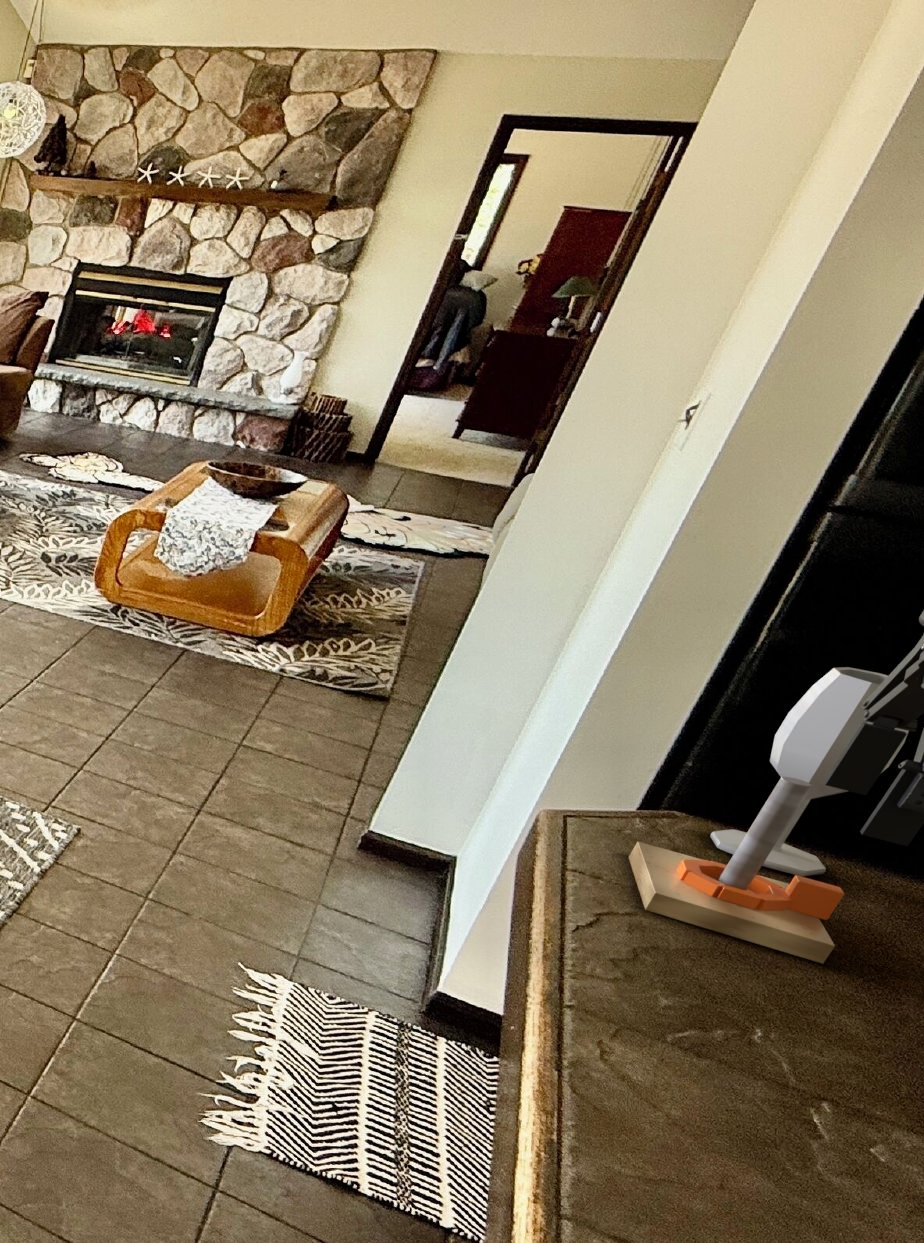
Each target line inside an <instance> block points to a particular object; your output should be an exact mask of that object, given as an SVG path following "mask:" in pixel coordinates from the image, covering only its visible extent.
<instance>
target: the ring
mask: <svg viewBox="0 0 924 1243" xmlns="http://www.w3.org/2000/svg"><path fill="white" fill-rule="evenodd" d="M726 866H727V864H725V863H721V862H717V861H714V860H708V859H702V860H692V859H684V860H682V862H681V863H680V865H679V867H678V868H677V872H678V875H679V878H680V880H683V882H684V883H686V884H688V885H690V886H692V887H694V888H696V889H698V890H700V891H702V892H704V893H706V894H708V895H710V896H712V897H717V898H718V899H720V900H724V901H727V902H731V903H734V904H737V905H741V906H744V907H748V908H751V909H758V910H760V911H783V910H785V909H789V910H793V911H796V912H800V913H803V914H807V915H810V916H814V917H817V918H819V919H820V920H824V921H828V920H829V918H830V916H831V915H832V914H833V912H834V910H835V909H836V908H837V906H838V904H839V903H840V902H841V901H842V898H843V897H844V896H845V892H844V890H843V889H842V888H841V887H840V886H837V885H833V884H830V883H826V882H823V881H819V880H815V879H812V878H808V877H806V876H798V875H795V874H794V877H793V878H792V880H791V882H790V883H788V884H789V886H788V887H787V889H783V887H781V886H779V885H777V884H775V883H773V882H771V881H769V880H767V879H765V878H763V877H764V876H763V877H760V876H761V875H759V874H756V876H755V877H754V879H753V880H752V882H751V884H750V885H749V887H748V889H750V890H752V891H754V892H756V893H758V894H755V893H752V892H748V891H745V890H741V889H738V888H734V887H731V886H727V885H725V884H723V883H721V882H719V881H717V880H715V879H713V878H711V877H709V876H712V877H716V878H719V877H720V876H721V874H722V873H723V871H724V869H725V868H726ZM758 875H759V876H758Z"/></svg>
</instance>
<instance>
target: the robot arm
mask: <svg viewBox="0 0 924 1243" xmlns="http://www.w3.org/2000/svg"><path fill="white" fill-rule="evenodd" d="M918 622H919V624H920V625H922V627H924V610H923V611H922V612H921V614H920V616H919V618H918ZM887 676H888V677H887V678H886V679H885V680H884V681H883V682H882V683H881V684H880V685H879V686H878V688H877V689H876V690H875V691H874V692H873V693H872V694H871V695H870V696H869V697H868V698H867V699H866V701H864V702H863V704H862V706H863V707H862V709H864V710H867V711H866V712H865V714H864V721H868V723H862V724H861V726H860V727H859V729H858V730H857V732H856V733H855V735H854V736H853V738H852V740H851V741H850V743H849V744H848V746H847V747H846V749H845V750H844V752H843V753H842V755H841V756H840V758H839V760H838V761H837V763H836V764H835V766H834V767H833V769H832V770H831V772H830V773H829V775H828V776H827V778H826V780H825V781H824V784H825V785H826V786H830V787H834V788H838V789H842V790H846V791H848V792H850V793H855V794H859V795H863V796H867V795H868V794H869V792H870V790H871V789H872V787H873V786H874V785H875V783H876V781H877V780H878V778H880V775H881V774H882V773H883V772H884V771H883V769H884V768H885V766H886V765H887V763H888V762H889V760H890V759H891V757H892V756H893V754H894V753H895V751H896V750H897V748H898V747H899V746H900V744H901V743H902V741H903V740H904V738H905V737H906V735H907V736H908V734H906V733H905V732H903V731H899V730H894V729H895V728H899V729H903V730H908V731H909V732H913V733H915V732H916V731H917V730H916V729H917V727H918V722H919V720H917V719H918V718H920V716H922V715H923V714H924V633H923V635H922V636H921V638H920V639H919V640H918V642H917V644H916V645H915V646H914V647H913V648H912V650H911V651H910V652H909V653H908V654H907V655H906V656H905V657H904V658H903V659H902V661H901V662H900V663H899V664H897V666H896V667H895V668H894V669H893V670H892V671H891V672H890V674H888V675H887ZM906 738H907V737H906ZM913 758H914V759H913V760H912V759H906V760H903V761H902V762H900V763H898V765H897V766H898V767H897V768H898V769H899V770H900V771H899V773H898V775H897V776H896V778H895V779H894V781H893V782H892V784H890V787H889V788H888V789H887V791H886V792H885V794H884V796H883V797H882V799H881V800H880V801H879V803H878V804H877V805H876V807H875V808H874V810H873V811H872V813H871V814H870V816H869V818H868V819H867V821H866V822H865V824H863V826H862V828H861V829H860V831H859V832H860V834H861V835H862V836H866V837H870V838H874V839H878V840H882V841H885V842H889V843H893V844H897V845H900V846H904V847H908V846H909V845H910V844H911V842H912V841H913V839H914V838H915V837H916V835H918V834H917V833H919V831H920V829H921V828H922V826H923V825H924V728H923V730H922V732H921V735H920V739H919V741H918V746H917V749H916V752H915V755H914V757H913ZM882 771H883V772H882ZM881 772H882V773H881Z"/></svg>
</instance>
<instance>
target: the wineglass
mask: <svg viewBox="0 0 924 1243" xmlns="http://www.w3.org/2000/svg"><path fill="white" fill-rule="evenodd" d="M888 676H889V675H887V674H883V673H880V672H875V671H870V670H865V669H860V668H854V667H849V666H845V667H843V666H841V667H833V668H831V669H830V670H829V671H828V672H826V673H825V675H823V677H821V678H820V679H818V680H817V681H816V682H815V683H814V684H813V685H811V686H810V688H809V689H808V690H807V691H806V692H805V694H803V696H802V697H801V698H800V699H799V700H798V701H797V702H796V704H795V705H794V706H793V707H792V708H791V709H790V711H788V712H787V715H786V716H785V718H784V720H783V721H782V723H781V725H780V726H779V728H778V729H777V731H776V733H775V734H774V738H773V743H772V748H771V753H770V758H769V763H770V764H771V765H772V767H773V768H774V769H775V771H776V772H777V774H778V775H779V777H780V778H781V777H791V778H796V779H799V780H802V781H805V782H807V783H809V784H811V785H812V787H811V788H810V790H809V792H808V793H807V795H806V796H805V798H804V800H803V801H802V803H801V804H800V806H799V807H798V809H797V811H796V812H795V814H794V815H793V817H792V819H791V820H790V822H789V823H788V825H787V827H786V828H785V830H784V831H783V833H782V834H781V836H780V838H779V839H778V841H777V842H776V844H775V846H774V847H773V849H772V850H771V852H770V854H769V855H768V857H767V858H766V860H765V861H764V863H763V865H762V866H761V867H765V868H769V869H773V870H777V871H779V872H783V873H788V874H792V875H794V876H795V875H797V876H801V877H809V876H817V875H823V874H825V872H826V870H827V868H826V867H825V865H824V864H823V863H822V861H821V860H820V859H819V858H818V857H817V856H816V855H814V854H811V853H809V852H807V851H804V850H802V849H799V848H796V847H793V846H792V845H789V844H787V843H785V842H786V840H787V838H788V837H789V835H790V834H791V832H792V830H793V828H794V827H795V826H796V824H797V822H798V821H799V819H800V818H801V816H802V814H803V813H804V811H805V810H806V808H807V806H808V805H809V803H810V802H811V800H814V799H819V798H824V797H828V796H833V795H838V794H843V793H847V792H849V791H846V790H842V789H838V788H834V787H830V786H826V785H825V784H824V781H825V780H826V778H827V776H828V775H829V773H830V772H831V770H832V769H833V767H834V766H835V764H836V763H837V761H838V760H839V758H840V756H841V755H842V753H843V752H844V750H845V749H846V747H847V746H848V744H849V743H850V741H851V740H852V738H853V736H854V735H855V733H856V732H857V730H858V729H859V727H860V726H861V724H862V723H868V721H864V714H865V712H866V711H867V710H864V709H862V707H863V706H862V704H863V702H864V701H866V699H867V698H868V697H869V696H870V695H871V694H872V693H873V692H874V691H875V690H876V689H877V688H878V686H879V685H880V684H881V683H882V682H883V681H884V680H885V679H886V678H887V677H888ZM894 730H899V731H903V732H905V733H906V734H907V735H906V737H905V738H904V740H903V741H902V743H901V744H900V746H899V747H898V748H897V750H896V751H895V753H894V754H893V756H892V757H891V759H890V760H889V762H888V763H887V765H886V766H885V768H884V769H883V771H882V772H881V774H882V773H883V772H884V771H886V769H888V768H890V766H891V764H892V763H893V761H894V759H895V758H896V756H897V755H898V753H899V752H900V750H901V748H903V746H904V744H905V743H906V739H907V737H908V735H909V732H910V731H908V730H903V729H899V728H895V729H894ZM746 834H747V832H745V831H743V830H742V831H741V830H738V829H733V828H732V829H723V830H722V829H721V830H714V831H712V832H711V833H710V838H711V840H712V842H713V843H714V845H715V847H716V848H717V849H719V850H721V851H724V852H725V853H729V854H731V855H732V856H733V855H734V853H735V851H736V850H737V848H738V847H739V845H740V843H741V842H742V840H743V838H744V837H745V835H746Z"/></svg>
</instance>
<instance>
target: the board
mask: <svg viewBox="0 0 924 1243" xmlns="http://www.w3.org/2000/svg"><path fill="white" fill-rule="evenodd" d="M811 787H812V785H811V784H809V783H807V782H805V781H802V780H799V779H796V778H791V777H780V779H779V780H778V782H777V783H776V785H775V786H774V788H773V789H772V792H771V793H770V795H769V796H768V798H767V800H766V801H765V803H764V804H763V806H762V807H761V809H760V811H759V812H758V813H757V815H756V818H755V819H754V821H753V822H752V824H751V826H750V827H749V828H748V831H747V832H746V833H747V834H746V835H745V837H744V838H743V840H742V842H741V843H740V845H739V847H738V848H737V850H736V851H735V853H734V855H733V854H732V856H731V858H730V860H729V861H728V863H727V864H726V865H727V866H726V868H725V869H724V871H723V873H722V874H721V876H720V877H719V878H716V877H712V876H709V877H711V878H713V879H715V880H717V881H719V882H721V883H723V884H725V885H727V886H731V887H734V888H738V889H741V890H745V891H748V892H752V893H755V894H758V893H756V892H754V891H752V890H750V889H748V887H749V885H750V884H751V882H752V880H753V879H754V877H755V876H756V875H758V876H760V877H763V878H765V879H767V880H769V881H771V882H773V883H775V884H777V885H779V886H781V887H783V889H787V887H788V886H789V884H790V883H788V882H784V881H781V880H777V879H773V878H769V877H766V876H762V875H759V874H758V873H759V871H760V869H761V868H762V867H763V866H762V865H763V863H764V861H765V860H766V858H767V857H768V855H769V854H770V852H771V850H772V849H773V847H774V846H775V844H776V842H777V841H778V839H779V838H780V836H781V834H782V833H783V831H784V830H785V828H786V827H787V825H788V823H789V822H790V820H791V819H792V817H793V815H794V814H795V812H796V811H797V809H798V807H799V806H800V804H801V803H802V801H803V800H804V798H805V796H806V795H807V793H808V792H809V790H810V788H811ZM684 859H692V860H703V859H701V858H698V857H695V856H692V855H689V854H683V853H680V852H678V851H674V850H669V849H667V848H663V847H659V846H655V845H652V844H648V843H645V842H641V841H637V842H636V844H634V847H633V848H632V850H631V852H630V854H629V856H628V861H629V863H630V867H631V870H632V873H633V876H634V878H635V883H636V885H637V889H638V891H639V892H638V893H639V894H640V898H641V902H642V904H643V907H644V910H645V911H647V912H651V913H654V914H657V915H661V916H664V917H667V918H671V919H674V920H677V921H681V922H684V923H687V924H690V925H694V926H696V927H700V928H703V929H707V930H711V931H714V932H717V933H720V934H724V935H726V936H731V937H733V938H736V939H740V940H743V941H747V942H748V943H749V942H750V943H754V944H757V945H759V946H763V947H767V948H770V949H773V950H776V951H780V952H782V953H787V954H788V955H793V956H796V957H799V958H802V959H806V960H808V961H813V962H815V963H818V964H822V965H823V964H824V963H825V962H826V961H827V959H828V957H829V956H830V954H831V953H832V952H833V950H834V948H835V947H836V945H835V944H834V941H833V940H832V938H831V936H830V935H829V933H828V931H827V930H826V928H825V926H824V925H823V923H822V921H821V919H820V918H817V917H814V916H810V915H807V914H803V913H800V912H796V911H793V910H789V909H785V910H783V911H760V910H758V909H751V908H748V907H744V906H741V905H737V904H734V903H731V902H727V901H724V900H720V899H718V898H717V897H712V896H710V895H708V894H706V893H704V892H702V891H700V890H698V889H696V888H694V887H692V886H690V885H688V884H686V883H684V882H683V880H680V878H679V875H678V872H677V868H678V867H679V865H680V863H681V862H682V860H684Z"/></svg>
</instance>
